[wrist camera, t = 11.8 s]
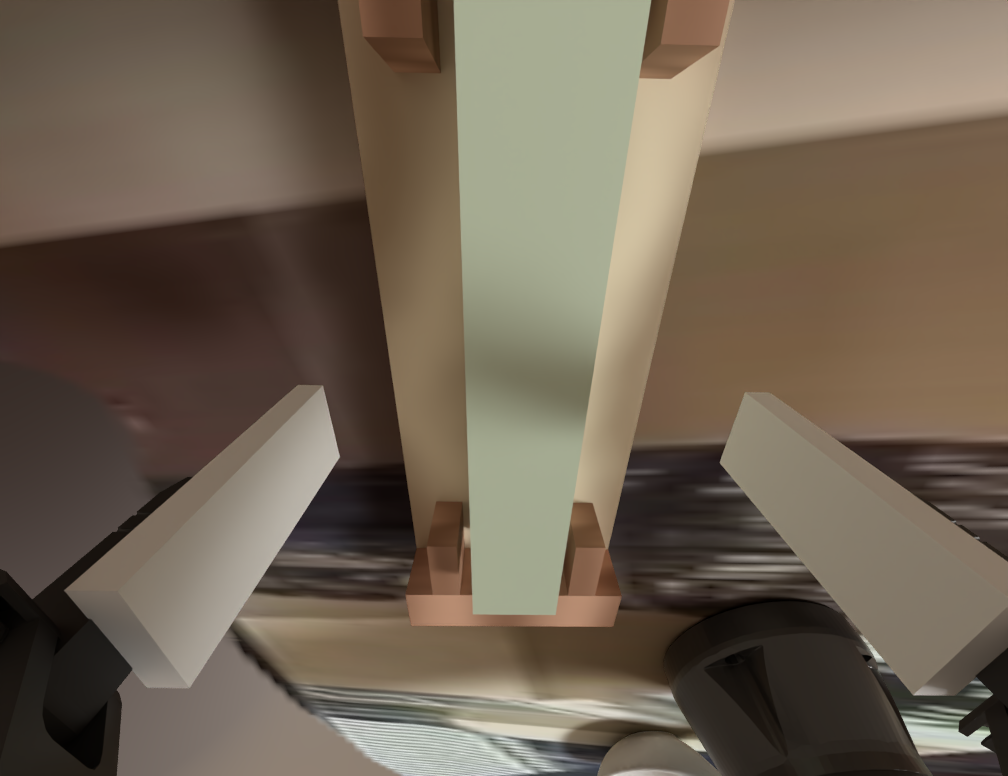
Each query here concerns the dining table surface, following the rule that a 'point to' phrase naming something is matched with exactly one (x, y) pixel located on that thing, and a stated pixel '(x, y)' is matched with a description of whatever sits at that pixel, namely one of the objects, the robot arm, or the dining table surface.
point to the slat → (535, 265)
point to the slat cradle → (439, 290)
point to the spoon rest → (654, 757)
